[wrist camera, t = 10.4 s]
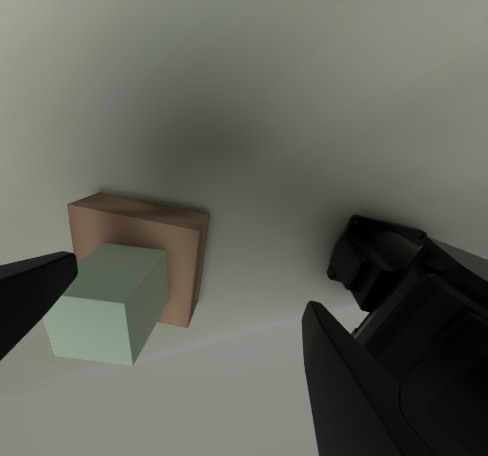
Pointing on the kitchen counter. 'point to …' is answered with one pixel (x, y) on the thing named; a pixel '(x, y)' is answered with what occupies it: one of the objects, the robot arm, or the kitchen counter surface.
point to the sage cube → (110, 305)
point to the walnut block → (147, 242)
